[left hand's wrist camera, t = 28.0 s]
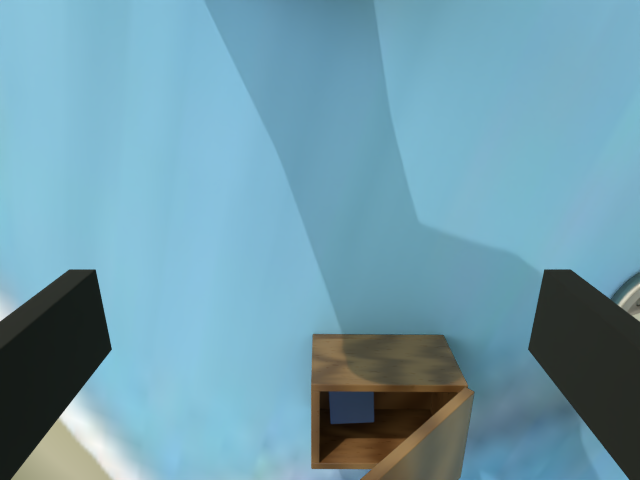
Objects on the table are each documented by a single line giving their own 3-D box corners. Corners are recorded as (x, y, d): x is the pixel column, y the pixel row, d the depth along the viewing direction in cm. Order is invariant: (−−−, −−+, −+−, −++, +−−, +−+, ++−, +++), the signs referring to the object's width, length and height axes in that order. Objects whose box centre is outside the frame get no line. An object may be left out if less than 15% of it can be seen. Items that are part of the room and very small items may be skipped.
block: (329, 394, 52) (330, 424, 47) (327, 360, 50) (328, 388, 45) (369, 392, 52) (374, 422, 47) (369, 358, 50) (373, 386, 45)
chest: (312, 409, 53) (311, 469, 45) (312, 334, 50) (311, 384, 41) (434, 409, 54) (455, 469, 45) (443, 334, 50) (468, 385, 41)
